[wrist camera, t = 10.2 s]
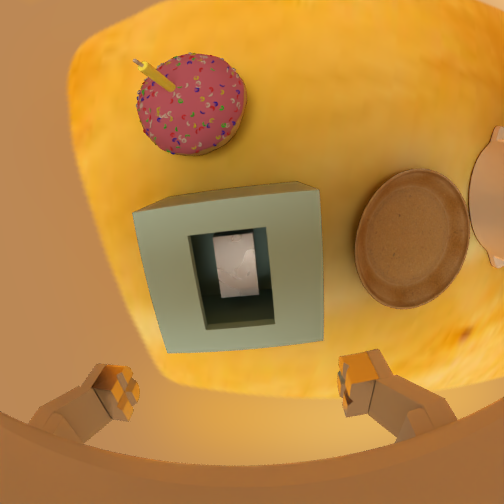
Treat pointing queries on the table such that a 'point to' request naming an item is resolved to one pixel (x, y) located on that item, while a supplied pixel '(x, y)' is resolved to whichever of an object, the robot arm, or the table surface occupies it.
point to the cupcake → (191, 103)
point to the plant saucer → (412, 239)
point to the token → (236, 262)
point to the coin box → (206, 276)
